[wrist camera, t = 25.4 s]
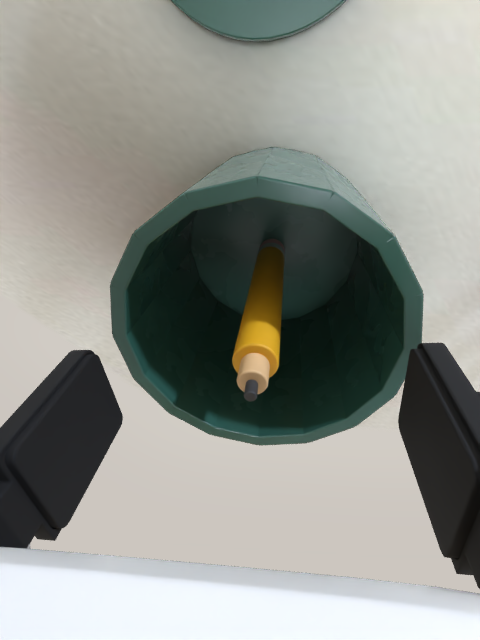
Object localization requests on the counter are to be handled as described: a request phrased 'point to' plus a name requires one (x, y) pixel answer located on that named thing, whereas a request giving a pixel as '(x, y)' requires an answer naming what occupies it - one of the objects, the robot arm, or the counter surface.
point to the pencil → (261, 322)
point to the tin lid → (257, 16)
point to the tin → (297, 302)
